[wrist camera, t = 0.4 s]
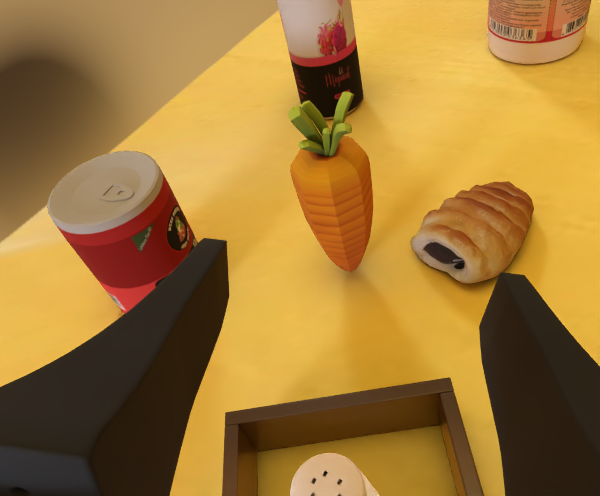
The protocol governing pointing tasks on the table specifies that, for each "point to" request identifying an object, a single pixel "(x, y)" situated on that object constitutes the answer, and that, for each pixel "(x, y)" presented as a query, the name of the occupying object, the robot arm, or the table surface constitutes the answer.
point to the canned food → (122, 223)
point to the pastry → (475, 231)
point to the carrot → (333, 183)
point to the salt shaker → (330, 478)
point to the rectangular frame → (346, 428)
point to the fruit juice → (536, 29)
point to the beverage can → (322, 51)
